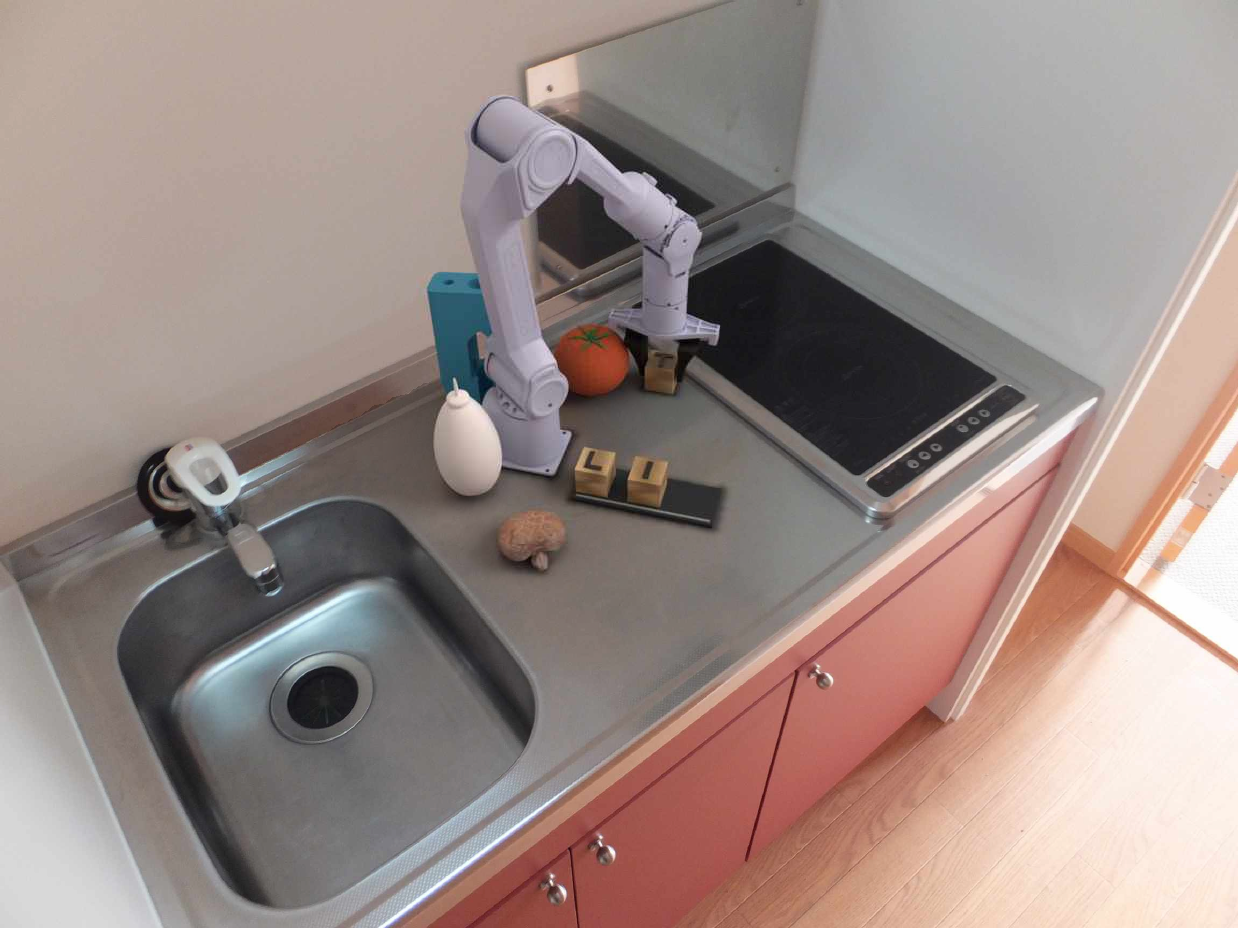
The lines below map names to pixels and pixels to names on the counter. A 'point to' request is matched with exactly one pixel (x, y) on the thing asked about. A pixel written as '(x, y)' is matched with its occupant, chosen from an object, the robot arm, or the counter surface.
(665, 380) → the tile
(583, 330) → the tomato
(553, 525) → the mushroom
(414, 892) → the counter surface
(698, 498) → the black tile rack
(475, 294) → the block
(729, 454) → the counter surface
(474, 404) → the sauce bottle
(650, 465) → the tile
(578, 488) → the tile
